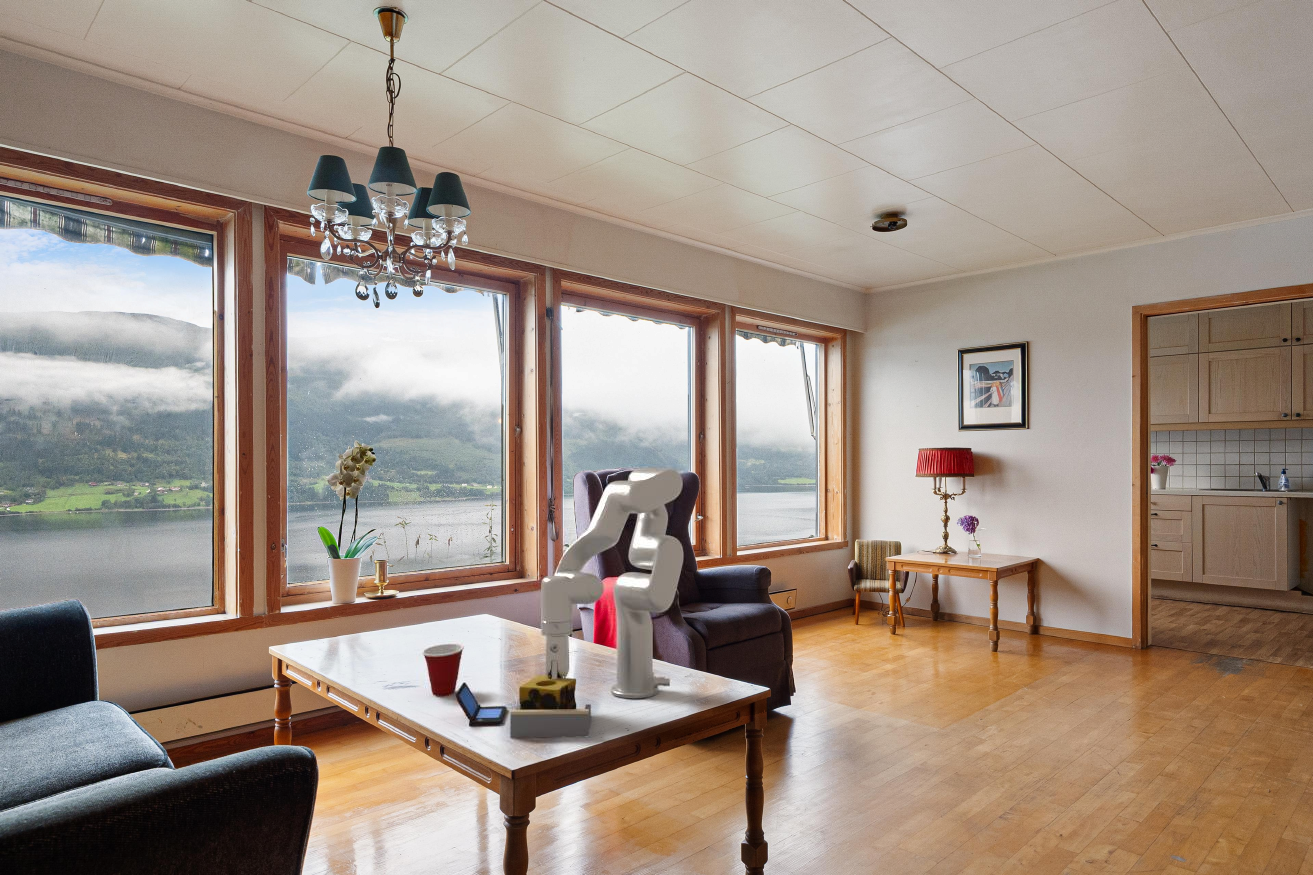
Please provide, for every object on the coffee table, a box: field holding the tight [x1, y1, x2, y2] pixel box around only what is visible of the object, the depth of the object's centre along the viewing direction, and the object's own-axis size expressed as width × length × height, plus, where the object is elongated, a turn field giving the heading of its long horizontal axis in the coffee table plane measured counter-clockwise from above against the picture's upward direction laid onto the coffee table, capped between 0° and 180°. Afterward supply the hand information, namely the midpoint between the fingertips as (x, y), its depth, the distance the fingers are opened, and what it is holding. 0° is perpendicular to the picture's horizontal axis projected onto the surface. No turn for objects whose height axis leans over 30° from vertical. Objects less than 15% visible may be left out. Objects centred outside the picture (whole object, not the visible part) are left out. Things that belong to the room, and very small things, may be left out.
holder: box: [509, 703, 592, 739], centre depth 175 cm, size 17×10×6 cm, turn 92°
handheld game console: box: [454, 682, 508, 727], centre depth 183 cm, size 12×11×7 cm
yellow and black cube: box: [518, 675, 578, 710], centre depth 177 cm, size 10×10×10 cm
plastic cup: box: [421, 643, 465, 697], centre depth 204 cm, size 11×11×12 cm
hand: (556, 703), depth 185 cm, fingers closed
